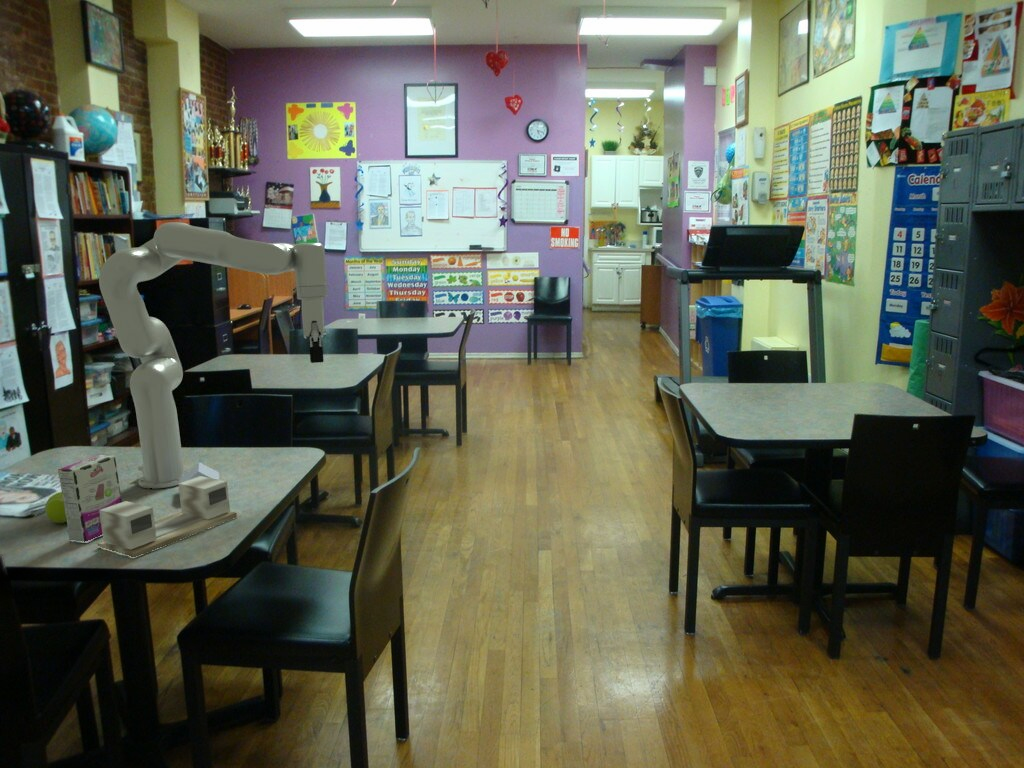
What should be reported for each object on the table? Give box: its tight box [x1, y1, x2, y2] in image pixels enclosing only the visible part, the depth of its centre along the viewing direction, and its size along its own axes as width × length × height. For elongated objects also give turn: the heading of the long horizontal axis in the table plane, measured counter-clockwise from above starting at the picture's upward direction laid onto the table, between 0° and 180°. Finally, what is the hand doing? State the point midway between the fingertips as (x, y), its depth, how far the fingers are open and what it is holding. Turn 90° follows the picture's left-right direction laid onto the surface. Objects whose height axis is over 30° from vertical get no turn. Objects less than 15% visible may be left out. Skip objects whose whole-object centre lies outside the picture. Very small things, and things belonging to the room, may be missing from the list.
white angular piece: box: [181, 462, 220, 482], centre depth 206 cm, size 9×7×13 cm
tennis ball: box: [44, 491, 67, 524], centre depth 190 cm, size 7×7×7 cm
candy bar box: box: [57, 454, 123, 542], centre depth 181 cm, size 11×5×16 cm, turn 160°
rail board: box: [97, 476, 238, 557], centre depth 181 cm, size 12×26×8 cm, turn 148°
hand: (316, 359), depth 216 cm, fingers open, 9 cm apart
